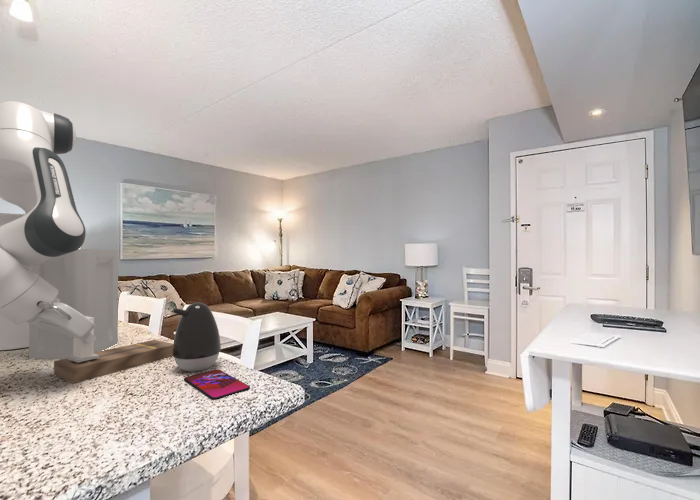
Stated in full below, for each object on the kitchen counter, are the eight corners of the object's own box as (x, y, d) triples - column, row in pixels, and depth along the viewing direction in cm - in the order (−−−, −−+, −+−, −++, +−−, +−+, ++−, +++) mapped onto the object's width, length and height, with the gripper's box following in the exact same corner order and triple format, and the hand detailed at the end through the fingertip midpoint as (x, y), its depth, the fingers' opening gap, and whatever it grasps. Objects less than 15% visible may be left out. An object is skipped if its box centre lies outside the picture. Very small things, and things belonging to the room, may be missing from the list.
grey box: (29, 367, 79) (31, 248, 80) (28, 354, 90) (30, 250, 91) (125, 351, 93) (126, 249, 93) (115, 342, 103) (115, 250, 104)
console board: (74, 383, 69) (74, 368, 69) (53, 374, 74) (54, 361, 74) (176, 355, 88) (176, 344, 88) (154, 350, 93) (154, 339, 93)
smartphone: (212, 398, 60) (182, 377, 71) (212, 403, 60) (182, 381, 71) (252, 386, 66) (218, 368, 76) (252, 391, 66) (218, 372, 76)
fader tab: (77, 362, 72) (78, 320, 72) (67, 359, 74) (67, 318, 75) (99, 357, 75) (99, 317, 76) (88, 354, 78) (89, 315, 78)
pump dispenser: (164, 368, 78) (164, 302, 78) (209, 358, 86) (209, 298, 86) (181, 379, 71) (182, 307, 71) (228, 367, 79) (228, 302, 79)
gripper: (66, 291, 64) (122, 332, 72) (26, 286, 74) (78, 323, 83) (35, 318, 60) (98, 359, 68) (-3, 310, 71) (55, 346, 79)
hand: (87, 339), depth 76 cm, fingers closed on fader tab, 4 cm apart
